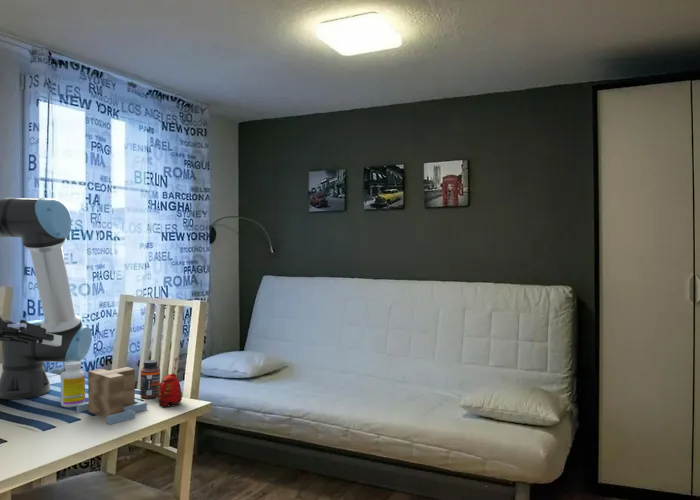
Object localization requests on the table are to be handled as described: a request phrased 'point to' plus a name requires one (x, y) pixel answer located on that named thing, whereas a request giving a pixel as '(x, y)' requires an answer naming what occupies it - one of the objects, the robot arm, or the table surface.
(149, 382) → the supplement bottle
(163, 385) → the red clay folk toy
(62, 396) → the supplement bottle
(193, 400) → the table surface
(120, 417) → the tee dock
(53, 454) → the table surface
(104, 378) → the tee block
